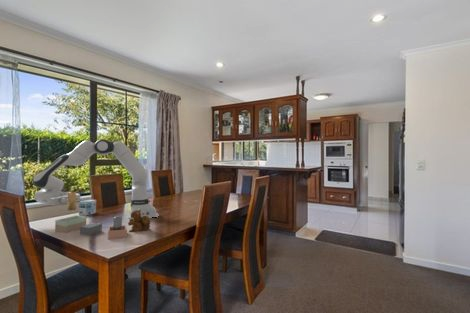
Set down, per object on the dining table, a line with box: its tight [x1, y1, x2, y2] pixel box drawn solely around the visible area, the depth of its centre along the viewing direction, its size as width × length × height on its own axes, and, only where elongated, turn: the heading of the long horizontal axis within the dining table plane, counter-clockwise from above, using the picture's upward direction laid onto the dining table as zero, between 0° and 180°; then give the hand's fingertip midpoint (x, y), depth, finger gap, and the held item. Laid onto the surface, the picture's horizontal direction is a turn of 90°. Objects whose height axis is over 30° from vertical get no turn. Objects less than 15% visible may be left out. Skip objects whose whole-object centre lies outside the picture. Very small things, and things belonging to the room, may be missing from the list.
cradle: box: [79, 222, 103, 236], centre depth 148 cm, size 9×7×5 cm
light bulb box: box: [78, 199, 97, 217], centre depth 195 cm, size 11×7×11 cm, turn 168°
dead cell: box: [112, 215, 123, 231], centre depth 144 cm, size 4×4×12 cm
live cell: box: [67, 190, 77, 211], centre depth 156 cm, size 4×4×12 cm
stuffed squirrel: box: [127, 210, 151, 233], centre depth 156 cm, size 10×14×13 cm
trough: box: [54, 215, 87, 234], centre depth 156 cm, size 14×9×7 cm, turn 164°
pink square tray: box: [107, 224, 128, 240], centre depth 144 cm, size 10×10×5 cm
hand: (73, 199), depth 155 cm, fingers closed on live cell, 4 cm apart
